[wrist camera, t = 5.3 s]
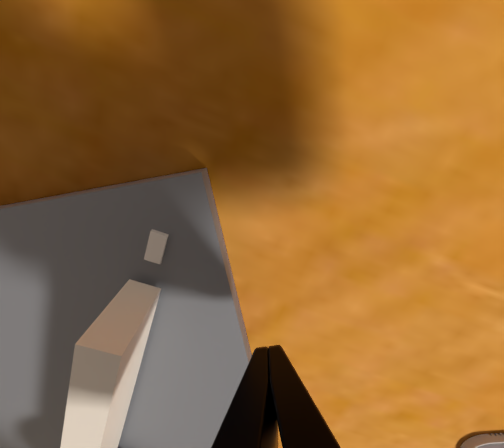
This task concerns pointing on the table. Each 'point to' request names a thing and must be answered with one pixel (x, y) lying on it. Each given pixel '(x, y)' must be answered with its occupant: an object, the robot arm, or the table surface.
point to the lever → (108, 368)
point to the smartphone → (485, 441)
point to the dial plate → (101, 294)
